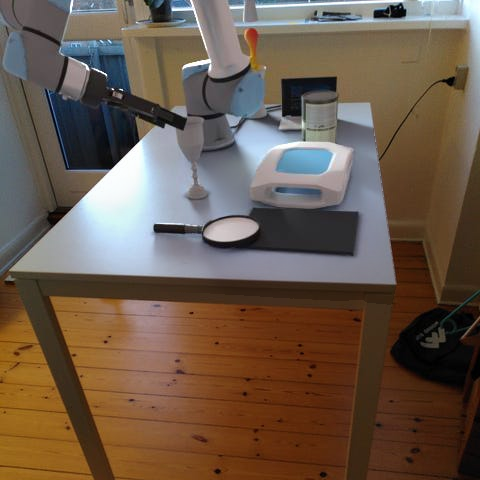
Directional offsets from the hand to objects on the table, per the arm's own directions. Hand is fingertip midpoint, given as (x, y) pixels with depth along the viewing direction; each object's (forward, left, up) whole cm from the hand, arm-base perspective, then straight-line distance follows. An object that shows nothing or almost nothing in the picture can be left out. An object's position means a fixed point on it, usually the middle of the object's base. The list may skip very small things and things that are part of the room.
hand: (174, 123), depth 119 cm
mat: (+16, +31, -17) cm, 39 cm away
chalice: (0, +3, -18) cm, 18 cm away
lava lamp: (-68, +3, -18) cm, 71 cm away
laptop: (-57, +23, -18) cm, 64 cm away
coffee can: (-37, +29, -18) cm, 51 cm away
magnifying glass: (+21, +12, -17) cm, 29 cm away
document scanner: (-8, +29, -18) cm, 35 cm away
